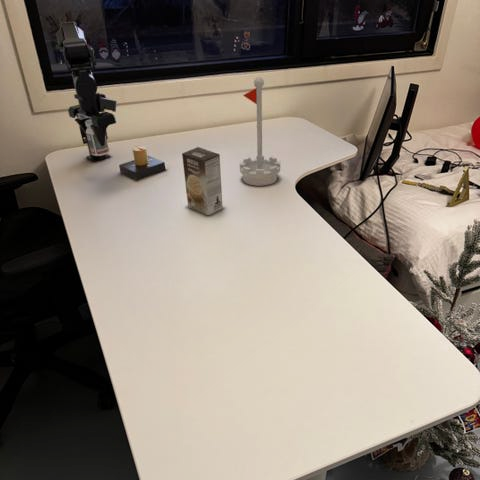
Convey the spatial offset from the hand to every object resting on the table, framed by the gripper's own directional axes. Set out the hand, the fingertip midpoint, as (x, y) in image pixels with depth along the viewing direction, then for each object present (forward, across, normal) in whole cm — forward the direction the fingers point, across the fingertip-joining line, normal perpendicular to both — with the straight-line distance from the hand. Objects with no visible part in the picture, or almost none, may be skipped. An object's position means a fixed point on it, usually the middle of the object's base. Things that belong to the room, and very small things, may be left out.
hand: (98, 143), depth 146 cm
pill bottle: (+3, 0, 0) cm, 3 cm away
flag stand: (+13, -38, -35) cm, 53 cm away
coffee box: (+13, -40, -9) cm, 43 cm away
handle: (+9, -2, -13) cm, 16 cm away
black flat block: (+12, -2, -13) cm, 18 cm away
